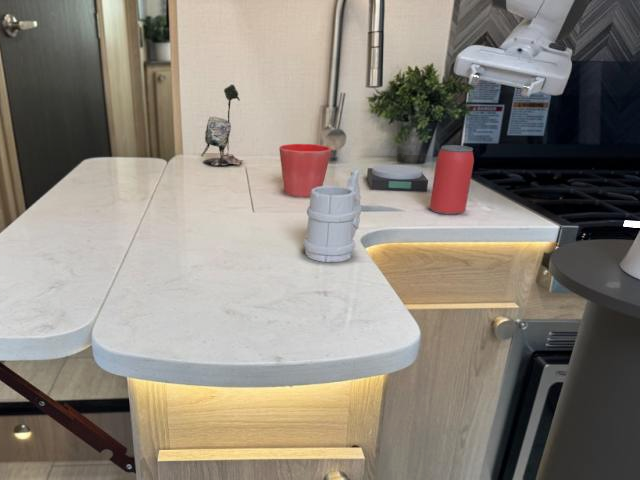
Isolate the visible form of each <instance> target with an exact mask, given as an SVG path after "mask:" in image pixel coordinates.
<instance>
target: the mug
mask: <svg viewBox="0 0 640 480" xmlns="http://www.w3.org/2000/svg"><path fill="white" fill-rule="evenodd" d="M359 176H360V169H351V171H350V177H348V179H347V184H346V186H337V185H323V186H320V187H316V188H314V189H312V190H311V197H310V198H309V206H308V207H307V209H306V215H307V217H308V218H307V229H306V237H305V238H304V239H303V247H304V249H305V250H304V253H305V256H307V258H309V259H311V260H313V261H318V262H323V263H325V262H326V263H330V262H331V263H333V262H334V263H340V262H346V261H347V260H349V259H351V258H352V255H353V251H354V250H355V248H356V242H355V239H353V238H355V235H356V232H357V230H358V229H359V226H360V221H361V218H360V215H361V213H362V210H363V209H362V207H363V206H362V204H361V199H362V197H361V190H360V184H359Z"/></svg>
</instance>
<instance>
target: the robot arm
mask: <svg viewBox="0 0 640 480" xmlns="http://www.w3.org/2000/svg"><path fill="white" fill-rule="evenodd" d="M488 1H489V3H490V5H491V7H492V9H497V10H500V11H503V12H506V13H511V14H514V15H516V16H517V17H520V18H523V20H522V21H520V22H519V23H518V25H516V26H515V28H513V30H512V31H511V32H510V34H509V35H508V36H507V37H506V39H504V41H503V42H502V44H500V46H499V48H497V47H491V46H486V45H480V44H472V45H470V46H468V47H466V48H464V49H463V50H461V51H460V52H459V53H458V54H457V56H456V58H455V61H454V66H453V73H454V74H455V75H457V76H460V77H461V76H462V77H466V78H467V79H469V80H468V85H472V86H478V85H479V83H480V81H485V82H489V83H494V84H500V85H504V86H509V87H513V88H519V89H522V91H521V93H520V96H523V97H527V98H530V96H531V95H533V94H538V93H542V94H546V95H551V96H561V95H563V93H564V91H565V88H566V86H567V84H568V81H569V78H570V75H571V72H572V67H573V63H572V60H571V58H572V55H573V50H572V49H571V48H569V47H567V46H563V45H561V44H558V43H559V42H561V41H563V40H565V39H566V38H568V37H569V36H570V34H571V33H572V32H573V31H574V29H575V28H576V26H577V24H578V23H579V22H580V20H581V18H582V16H583V15H584V13H585V12H586V10H587V8H588V5H589V4H590V1H591V0H488ZM623 227H629V228H640V221H637V220H636V221H635V220H624V223H623ZM634 240H635V241H634V243H633V244H632V246H631V248H630V249H629V251H628V253H627V254H626V255H625V257H624V258H623V260H622V261H621V262H620V267H621V269H622V270H623V271H625V272H626V273H628V274H629V275H631V276H633V277H635V278H637V279H640V230H639V231H638V233H637V235H636V238H635V239H634Z"/></svg>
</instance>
